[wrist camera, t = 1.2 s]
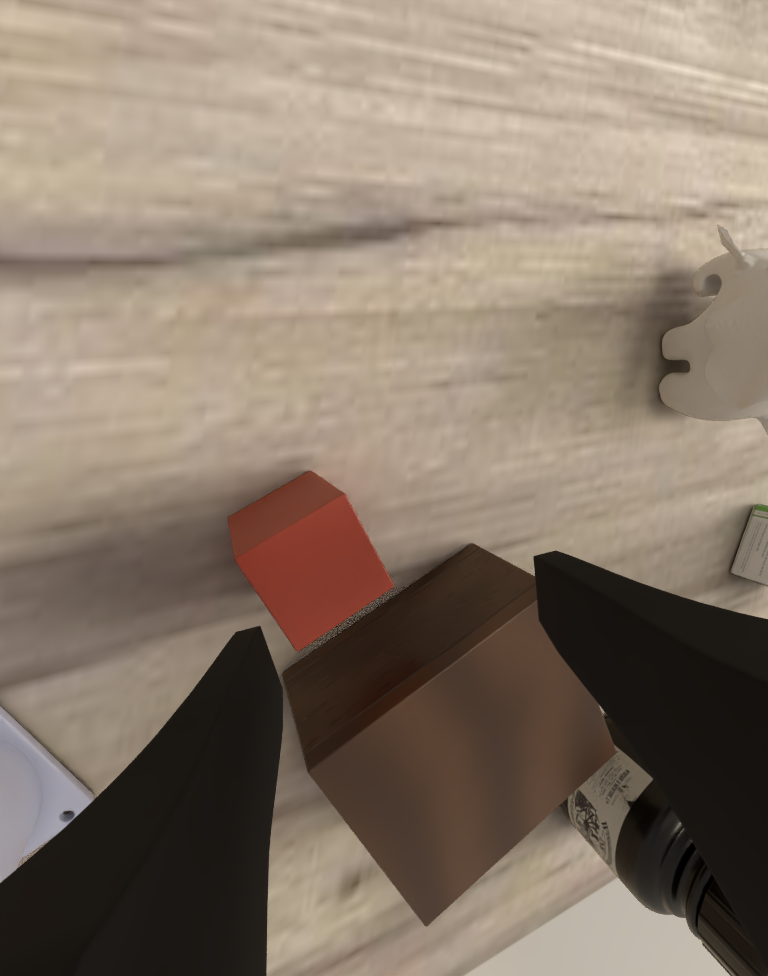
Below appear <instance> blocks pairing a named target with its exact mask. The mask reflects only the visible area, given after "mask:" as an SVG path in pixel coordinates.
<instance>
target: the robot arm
mask: <svg viewBox="0 0 768 976" xmlns="http://www.w3.org/2000/svg"><path fill="white" fill-rule="evenodd" d="M534 567H535V580H536V592H537V605H538V617H539V621H540V623H541V625H542V627H543V628H544V630H545V632H546V633H547V635H548V637H549V639H550V640H551V642H552V643H553V645H554V647H555V648H556V650H557V651H558V653H559V654H560V656H561V657H562V658H563V660H564V661H565V662H566V663H567V665H568V666H569V667H570V669H571V670H572V671H573V672H574V674H575V675H576V676H577V677H578V679H579V680H580V681H581V683H582V684H583V685H584V686H585V688H586V689H587V690H588V691H589V693H590V694H591V695H592V696H593V698H594V699H595V700H596V701H597V703H598V704H599V705H600V706H601V708H602V709H603V710H604V711H605V713H606V714H607V715H608V716H609V718H610V719H611V720H612V721H613V723H614V724H615V725H616V726H617V728H618V729H619V730H620V732H621V733H622V734H623V736H624V737H625V738H626V740H627V741H628V743H629V744H630V745H631V747H632V748H633V750H634V751H635V753H636V754H637V756H638V757H639V759H640V760H641V762H642V763H643V765H644V766H645V768H646V769H647V771H648V772H649V774H650V775H651V777H652V778H653V780H654V782H655V783H656V785H657V786H658V788H659V789H660V791H661V792H662V794H663V795H664V797H665V799H666V800H667V802H668V803H669V805H670V807H671V808H672V810H673V811H674V813H675V815H676V816H677V818H678V819H679V821H680V823H681V824H682V826H683V827H684V829H685V830H686V832H687V834H688V835H689V837H690V838H691V840H692V842H693V843H694V845H695V847H696V848H697V850H698V852H699V853H700V855H701V857H702V859H703V860H704V862H705V864H706V865H707V867H708V869H709V870H710V872H711V874H712V875H713V877H714V879H715V880H716V882H717V884H718V885H719V887H720V889H721V890H722V892H723V894H724V895H725V897H726V899H727V900H728V902H729V904H730V906H731V907H732V909H733V911H734V913H735V914H736V916H737V918H738V920H739V921H740V923H741V925H742V927H743V928H744V930H745V932H746V934H747V935H748V937H749V939H750V941H751V942H752V944H753V946H754V948H755V949H756V951H757V953H758V955H759V957H760V958H761V960H762V962H763V964H764V965H765V967H766V969H767V971H768V619H764V618H759V617H755V616H750V615H746V614H742V613H738V612H734V611H730V610H726V609H722V608H719V607H715V606H711V605H707V604H704V603H700V602H697V601H693V600H690V599H686V598H683V597H680V596H677V595H674V594H671V593H668V592H665V591H662V590H659V589H656V588H653V587H650V586H648V585H645V584H642V583H639V582H636V581H634V580H631V579H628V578H626V577H623V576H621V575H618V574H615V573H613V572H610V571H608V570H605V569H603V568H600V567H598V566H595V565H593V564H590V563H588V562H585V561H583V560H580V559H578V558H575V557H573V556H570V555H567V554H564V553H562V552H558V551H552V552H548V553H544V554H540V555H537V556H534ZM282 731H283V688H282V686H281V683H280V680H279V677H278V674H277V672H276V669H275V666H274V663H273V660H272V658H271V655H270V652H269V649H268V646H267V644H266V641H265V638H264V635H263V632H262V630H261V627H260V626H258V627H254V628H250V629H246V630H242V631H238V632H236V633H235V634H234V635H233V636H232V638H231V639H230V640H229V642H228V643H227V644H226V646H225V647H224V649H223V650H222V651H221V653H220V654H219V655H218V657H217V658H216V660H215V661H214V662H213V664H212V665H211V666H210V668H209V669H208V670H207V672H206V673H205V674H204V676H203V677H202V678H201V680H200V681H199V683H198V684H197V685H196V687H195V688H194V689H193V691H192V692H191V693H190V694H189V696H188V697H187V698H186V699H185V701H184V702H183V703H182V704H181V706H180V707H179V708H178V709H177V710H176V712H175V713H174V714H173V715H172V717H171V718H170V719H169V720H168V721H167V723H166V724H165V725H164V726H163V728H162V729H161V730H160V731H159V732H158V734H157V735H156V736H155V737H154V738H153V739H152V741H151V742H150V743H149V744H148V745H147V746H146V747H145V748H144V749H143V751H142V752H141V753H140V754H139V755H138V756H137V757H136V758H135V759H134V760H133V761H132V762H131V763H130V764H129V765H128V767H127V768H126V769H125V770H124V771H123V772H122V773H121V774H120V775H119V776H118V777H117V778H116V779H115V780H114V781H113V782H112V783H111V784H110V785H109V786H108V787H107V788H106V789H105V790H104V791H103V792H102V793H101V794H100V795H99V796H98V797H96V798H95V799H94V795H93V794H92V793H91V792H90V791H89V790H88V789H87V788H86V787H85V786H84V785H83V784H82V783H81V782H80V781H79V780H78V779H77V778H76V777H75V776H73V775H72V774H71V773H70V772H69V771H68V770H67V769H66V768H65V767H64V766H63V765H62V764H61V763H60V762H59V761H58V760H57V759H56V758H55V757H53V756H52V755H51V754H50V753H49V752H48V751H47V750H46V749H45V748H44V747H43V746H42V745H41V744H40V743H39V742H38V741H37V740H36V739H35V738H33V737H32V736H31V735H30V734H29V733H28V732H27V731H26V730H25V729H24V728H23V727H22V726H21V725H20V724H19V723H18V722H17V721H16V720H15V719H13V718H12V717H11V716H10V715H9V714H8V713H7V712H6V711H5V710H4V709H3V708H2V707H1V706H0V976H266V961H267V902H268V869H269V847H270V835H271V825H272V817H273V808H274V800H275V792H276V783H277V775H278V767H279V758H280V750H281V741H282ZM65 811H73V812H72V813H70V814H66V813H64V812H65ZM54 836H55V837H54ZM53 837H54V838H53ZM51 838H53V839H51ZM50 839H51V840H50ZM48 840H50V841H49V842H48V843H47V844H46V845H44V846H43V847H42V848H41V849H40V850H39V851H38V852H36V853H35V854H34V855H33V856H32V857H31V858H29V859H28V860H27V861H26V862H25V863H24V864H22V865H21V866H20V867H19V868H18V869H17V867H18V864H19V862H20V860H21V859H22V858H24V857H25V856H26V855H28V854H29V853H31V852H32V851H34V850H35V849H37V848H38V847H40V846H41V845H42V844H44V843H45V842H47V841H48Z"/></svg>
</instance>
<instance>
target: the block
mask: <svg viewBox="0 0 768 976" xmlns="http://www.w3.org/2000/svg"><path fill="white" fill-rule="evenodd" d="M228 521H229V527H230V534H231V540H232V547H233V553H234V560H235V561H236V563H237V564H238V566H239V567H240V569H241V570H242V572H243V573H244V575H245V576H246V578H247V579H248V581H249V582H250V584H251V585H252V586H253V588H254V589H255V591H256V592H257V594H258V595H259V597H260V598H261V600H262V601H263V603H264V604H265V606H266V607H267V609H268V610H269V612H270V613H271V615H272V616H273V617H274V619H275V620H276V622H277V623H278V625H279V626H280V628H281V629H282V631H283V632H284V634H285V635H286V637H287V638H288V640H289V641H290V643H291V644H292V646H293V647H294V649H295V650H296V651H297V652H298V651H300V650H301V649H303V648H304V647H306V646H307V645H309V644H310V643H312V642H313V641H315V640H316V639H317V638H319V637H320V636H322V635H323V634H325V633H326V632H328V631H329V630H331V629H332V628H334V627H335V626H337V625H338V624H340V623H341V622H343V621H344V620H346V619H347V618H349V617H350V616H352V615H353V614H354V613H356V612H357V611H359V610H360V609H362V608H363V607H365V606H366V605H368V604H369V603H371V602H372V601H374V600H375V599H377V598H378V597H380V596H381V595H383V594H384V593H386V592H387V591H389V590H390V589H391V588H393V587H394V584H393V582H392V580H391V578H390V577H389V575H388V573H387V571H386V569H385V567H384V565H383V563H382V562H381V560H380V558H379V556H378V554H377V552H376V550H375V549H374V547H373V545H372V543H371V541H370V539H369V537H368V535H367V534H366V532H365V530H364V528H363V526H362V524H361V522H360V521H359V519H358V517H357V515H356V513H355V511H354V509H353V507H352V506H351V504H350V502H349V500H348V498H347V496H346V494H345V493H343V492H342V491H340V490H339V489H337V488H336V487H334V486H333V485H332V484H330V483H329V482H327V481H326V480H324V479H323V478H321V477H320V476H318V475H317V474H315V473H314V472H312V471H308V472H307V473H305V474H303V475H301V476H300V477H298V478H296V479H294V480H293V481H291V482H289V483H287V484H285V485H284V486H282V487H280V488H278V489H277V490H275V491H273V492H271V493H270V494H268V495H266V496H264V497H263V498H261V499H259V500H257V501H256V502H254V503H252V504H250V505H249V506H247V507H245V508H243V509H242V510H240V511H238V512H236V513H235V514H233V515H231V516H229V517H228Z"/></svg>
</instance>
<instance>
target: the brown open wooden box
mask: <svg viewBox="0 0 768 976" xmlns="http://www.w3.org/2000/svg"><path fill="white" fill-rule="evenodd" d="M282 676H283V680H284V683H285V688H286V691H287V695H288V699H289V703H290V706H291V710H292V714H293V718H294V722H295V725H296V729H297V733H298V737H299V741H300V744H301V748H302V752H303V756H304V760H305V763H306V767H307V771H308V773H309V775H310V776H311V777H312V778H313V780H314V781H315V782H316V784H317V785H318V786H319V788H320V789H321V790H322V792H323V793H324V794H325V795H326V797H327V798H328V799H329V801H330V802H331V803H332V805H333V806H334V807H335V809H336V810H337V811H338V813H339V814H340V815H341V816H342V818H343V819H344V820H345V822H346V823H347V824H348V826H349V827H350V828H351V830H352V831H353V832H354V834H355V835H356V836H357V837H358V839H359V840H360V841H361V843H362V844H363V845H364V847H365V848H366V849H367V851H368V852H369V853H370V854H371V856H372V857H373V858H374V860H375V861H376V862H377V864H378V865H379V866H380V868H381V869H382V870H383V872H384V873H385V874H386V875H387V877H388V878H389V879H390V881H391V882H392V883H393V885H394V886H395V887H396V889H397V890H398V891H399V892H400V894H401V895H402V896H403V898H404V899H405V900H406V902H407V903H408V904H409V906H410V907H411V908H412V910H413V911H414V912H415V913H416V915H417V916H418V917H419V919H420V920H421V921H422V923H423V924H424V925H425V926H428V925H429V924H430V923H431V922H432V921H433V920H434V919H436V918H437V917H438V916H439V915H440V914H441V913H442V912H443V911H444V910H445V909H447V908H448V907H449V906H450V905H451V904H452V903H453V902H454V901H455V900H456V899H457V898H459V897H460V896H461V895H462V894H463V893H464V892H465V891H466V890H467V889H468V888H469V887H471V886H472V885H473V884H474V883H475V882H476V881H477V880H478V879H479V878H480V877H482V876H483V875H484V874H485V873H486V872H487V871H488V870H489V869H490V868H491V867H492V866H494V865H495V864H496V863H497V862H498V861H499V860H500V859H501V858H502V857H503V856H505V855H506V854H507V853H508V852H509V851H510V850H511V849H512V848H513V847H514V846H515V845H517V844H518V843H519V842H520V841H521V840H522V839H523V838H524V837H525V836H526V835H528V834H529V833H530V832H531V831H532V830H533V829H534V828H535V827H536V826H537V825H538V824H540V823H541V822H542V821H543V820H544V819H545V818H546V817H547V816H548V815H549V814H550V813H552V812H553V811H554V810H555V809H556V808H557V807H558V806H559V805H560V804H561V803H563V802H564V801H565V800H566V799H567V798H568V797H569V796H570V795H571V794H572V793H573V792H575V791H576V790H577V789H578V788H579V787H580V786H581V785H582V784H583V783H584V782H586V781H587V780H588V779H589V778H590V777H591V776H592V775H593V774H594V773H595V772H596V771H598V770H599V769H600V768H601V767H602V766H603V765H604V764H605V763H606V762H607V761H609V760H610V759H611V758H612V757H613V756H614V755H615V754H616V753H617V752H616V749H615V747H614V744H613V741H612V739H611V736H610V733H609V731H608V728H607V725H606V723H605V720H604V717H603V715H602V712H601V709H600V707H599V704H598V703H597V701H596V700H595V699H594V698H593V696H592V695H591V694H590V693H589V691H588V690H587V689H586V688H585V686H584V685H583V684H582V683H581V681H580V680H579V679H578V677H577V676H576V675H575V674H574V672H573V671H572V670H571V669H570V667H569V666H568V665H567V663H566V662H565V661H564V660H563V658H562V657H561V656H560V654H559V653H558V651H557V650H556V648H555V647H554V645H553V643H552V642H551V640H550V639H549V637H548V635H547V633H546V632H545V630H544V628H543V627H542V625H541V623H540V621H539V617H538V605H537V592H536V580H535V576H533V575H531V574H529V573H527V572H526V571H524V570H522V569H520V568H518V567H516V566H514V565H513V564H511V563H509V562H507V561H505V560H503V559H501V558H500V557H498V556H496V555H494V554H492V553H490V552H488V551H486V550H485V549H483V548H480V547H479V546H477V545H475V544H471V545H470V546H468V547H467V548H465V549H464V550H462V551H461V552H459V553H458V554H456V555H455V556H453V557H452V558H450V559H449V560H448V561H446V562H445V563H443V564H442V565H440V566H439V567H437V568H436V569H434V570H433V571H431V572H430V573H428V574H427V575H426V576H424V577H423V578H421V579H420V580H418V581H417V582H415V583H414V584H412V585H411V586H409V587H408V588H406V589H405V590H404V591H402V592H401V593H399V594H398V595H396V596H395V597H393V598H392V599H390V600H389V601H387V602H386V603H384V604H383V605H382V606H380V607H379V608H377V609H376V610H374V611H373V612H371V613H370V614H368V615H367V616H365V617H364V618H362V619H361V620H360V621H358V622H357V623H355V624H354V625H352V626H351V627H349V628H348V629H346V630H345V631H343V632H342V633H340V634H339V635H338V636H336V637H335V638H333V639H332V640H330V641H329V642H327V643H326V644H324V645H323V646H321V647H320V648H318V649H317V650H316V651H314V652H313V653H311V654H310V655H308V656H307V657H305V658H304V659H302V660H301V661H299V662H298V663H296V664H295V665H294V666H292V667H291V668H289V669H288V670H286V671H285V672H283V673H282Z"/></svg>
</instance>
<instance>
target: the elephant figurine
mask: <svg viewBox="0 0 768 976" xmlns="http://www.w3.org/2000/svg"><path fill="white" fill-rule="evenodd" d="M717 227H718V231H719V235H720V239H721V243H722V245H723V246H724V247H725V248H726V249H727V250H728V251H729V253H726V254H723V255H721V256H718V257H716V258H714V259H712V260H711V261H709V262H707V263H706V264H705V265H703V266H702V267H701V268H700V269H699V270H698V271H697V272H696V274H695V276H694V279H693V290H694V292H695V294H696V295H698V296H700V297H704V296H716V297H715V299H714V300H713V302H712V303H711V304H710V306H709V307H708V308H707V309H706V310H705V311H704V312H703V313H702V314H701V315H699V316H698V317H697V318H696V319H695V320H694V321H692V322H691V323H690V324H688V325H684V326H680V327H676V328H673V329H671V330H669V331H668V332H667V333H666V334H665V335H664V337H663V340H662V353H663V356H664V357H665V358H666V359H669V360H687V361H688V362H689V363H690V371H689V373H684V372H674V373H670V374H668V375H667V376H665V377H664V378H663V380H662V381H661V383H660V385H659V392H660V396H661V400H662V402H663V403H664V404H665V405H666V406H668V407H670V408H673V409H674V410H676V411H678V412H680V413H682V414H684V415H687V416H689V417H693V418H697V419H702V420H711V421H729V420H738V419H746V418H757V419H758V420H759V421H760V422H761V423H762V425H763V427H764V429H765V431H766V433H767V434H768V249H747V250H740V249H739V248H738V247H737V246H736V244H735V243H734V241H733V239H732V238H731V236H730V234H729V233H728V231H727V230H726V229H724V228H723V227H721V226H720V225H717Z"/></svg>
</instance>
